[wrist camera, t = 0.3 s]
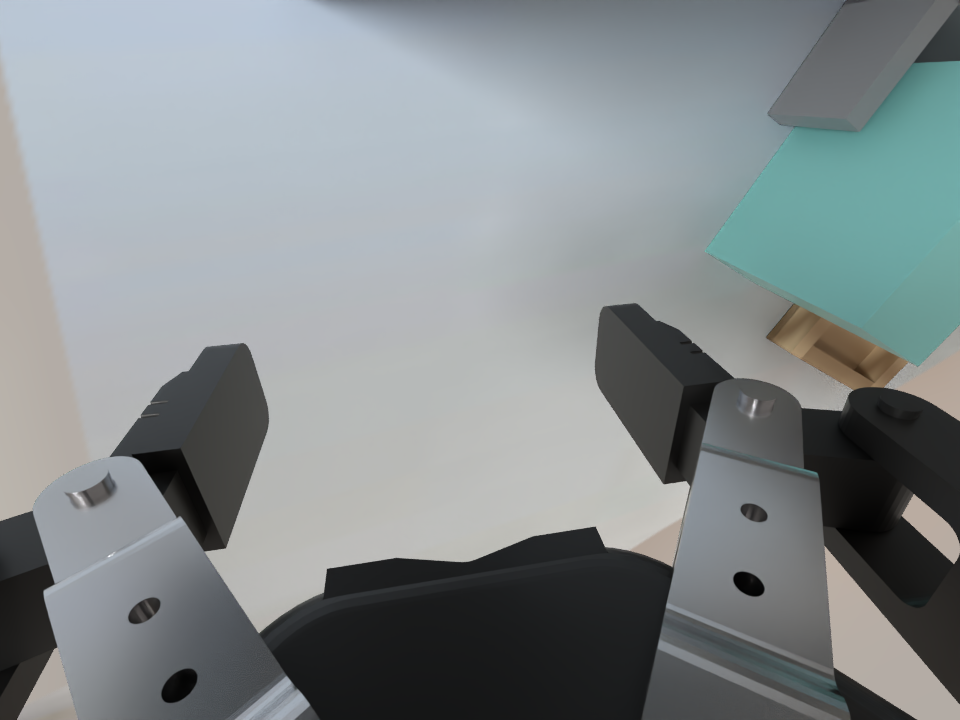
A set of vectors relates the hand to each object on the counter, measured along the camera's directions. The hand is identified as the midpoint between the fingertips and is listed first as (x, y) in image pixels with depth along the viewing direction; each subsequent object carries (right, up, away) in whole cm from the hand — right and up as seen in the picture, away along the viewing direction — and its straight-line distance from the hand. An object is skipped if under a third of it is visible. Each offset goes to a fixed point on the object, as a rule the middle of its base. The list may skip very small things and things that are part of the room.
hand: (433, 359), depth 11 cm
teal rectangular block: (+21, +11, +20) cm, 31 cm away
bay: (+24, +16, +18) cm, 33 cm away
